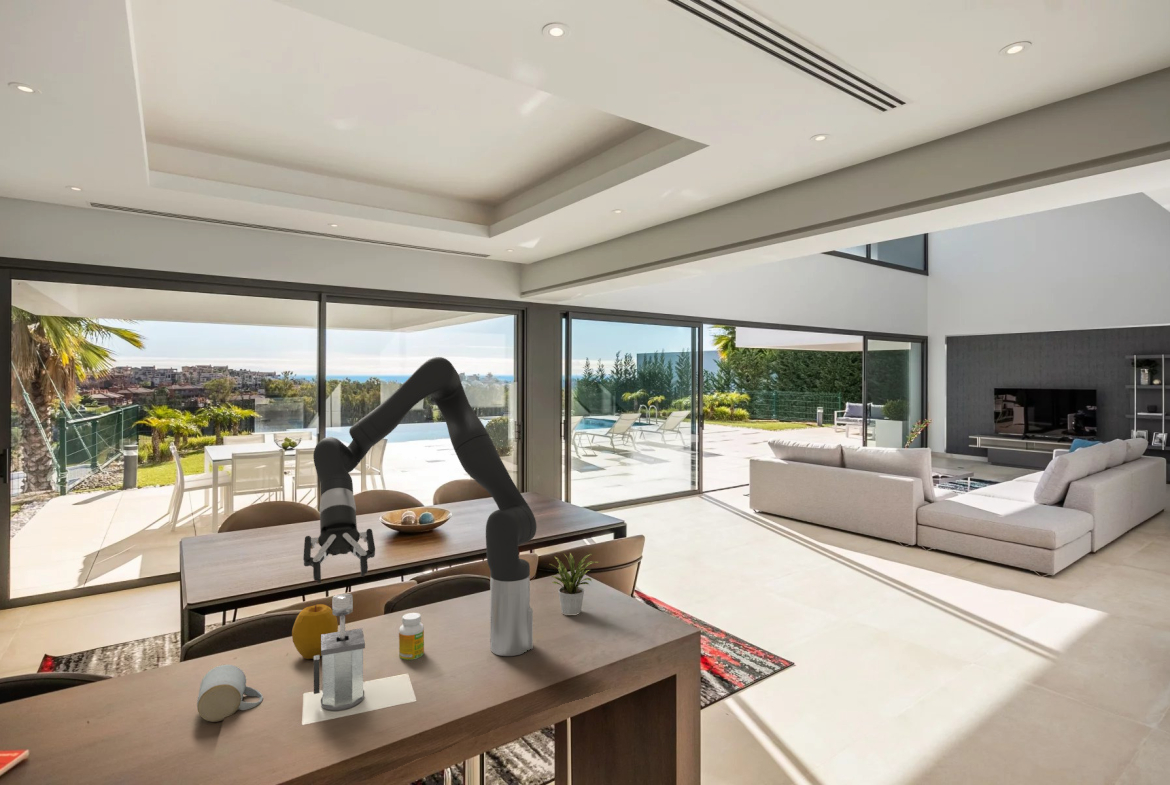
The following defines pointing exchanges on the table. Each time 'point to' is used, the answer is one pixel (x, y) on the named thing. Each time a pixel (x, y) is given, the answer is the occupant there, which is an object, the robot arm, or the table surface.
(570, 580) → the house plant
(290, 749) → the table surface
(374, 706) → the plate
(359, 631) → the press
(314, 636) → the apple
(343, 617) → the plunger
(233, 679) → the ceramic mug
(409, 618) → the supplement bottle
